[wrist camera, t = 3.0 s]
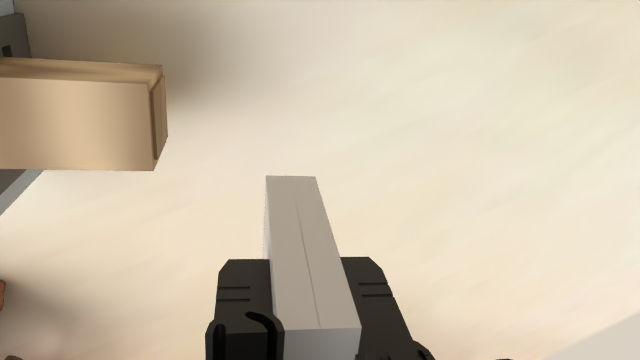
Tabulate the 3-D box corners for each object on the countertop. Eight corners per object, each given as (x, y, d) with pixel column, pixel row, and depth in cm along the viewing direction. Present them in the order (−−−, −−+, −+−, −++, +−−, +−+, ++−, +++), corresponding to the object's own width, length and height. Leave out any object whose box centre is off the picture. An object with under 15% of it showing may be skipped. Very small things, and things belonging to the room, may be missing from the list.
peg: (-89, 134, 23) (-152, 166, 19) (-114, 50, 21) (-188, 68, 17) (169, 140, 25) (156, 171, 21) (165, 65, 23) (150, 84, 19)
